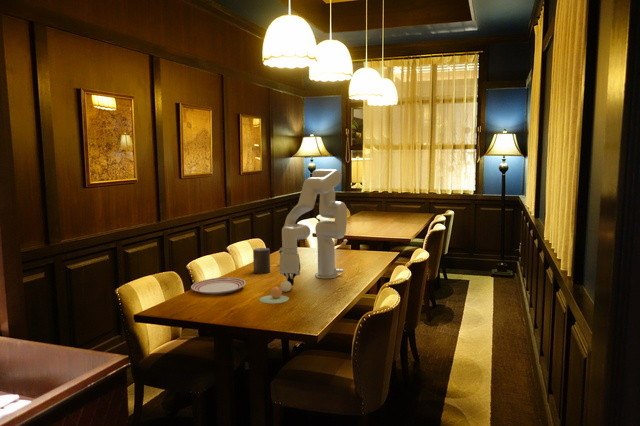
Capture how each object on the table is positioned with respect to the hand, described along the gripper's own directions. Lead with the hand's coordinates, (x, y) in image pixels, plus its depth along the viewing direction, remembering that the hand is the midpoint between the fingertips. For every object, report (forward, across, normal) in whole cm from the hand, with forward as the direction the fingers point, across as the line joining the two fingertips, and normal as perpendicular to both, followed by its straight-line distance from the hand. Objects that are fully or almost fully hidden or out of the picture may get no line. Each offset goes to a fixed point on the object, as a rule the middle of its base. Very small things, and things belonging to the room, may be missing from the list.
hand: (290, 285), depth 257 cm
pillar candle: (+2, -31, +30) cm, 43 cm away
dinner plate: (+2, -35, -12) cm, 37 cm away
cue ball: (-1, 0, -6) cm, 6 cm away
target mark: (+2, 0, -20) cm, 20 cm away
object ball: (-1, 0, -18) cm, 18 cm away
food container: (+2, -22, +52) cm, 57 cm away
